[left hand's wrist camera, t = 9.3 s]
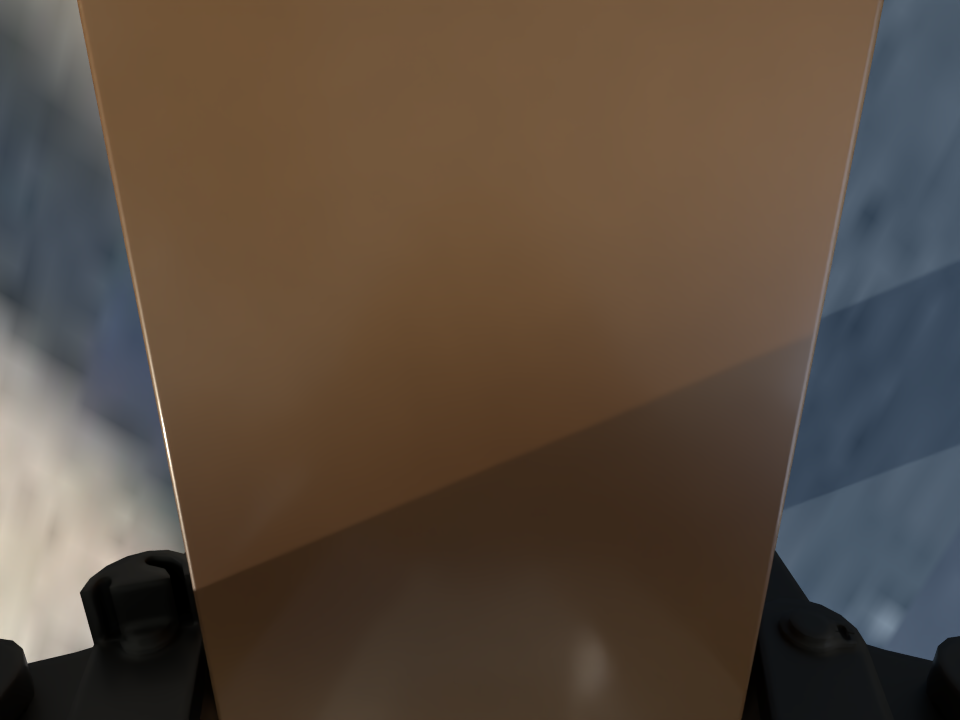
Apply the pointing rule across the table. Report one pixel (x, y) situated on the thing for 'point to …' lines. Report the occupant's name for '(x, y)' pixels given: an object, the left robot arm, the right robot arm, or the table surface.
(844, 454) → the table surface
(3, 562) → the table surface
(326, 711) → the brown box
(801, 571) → the table surface
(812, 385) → the table surface
